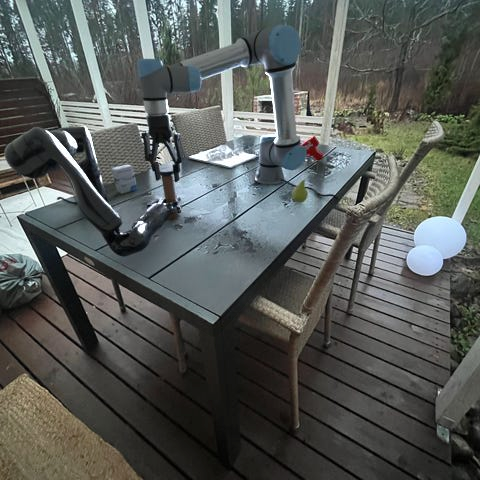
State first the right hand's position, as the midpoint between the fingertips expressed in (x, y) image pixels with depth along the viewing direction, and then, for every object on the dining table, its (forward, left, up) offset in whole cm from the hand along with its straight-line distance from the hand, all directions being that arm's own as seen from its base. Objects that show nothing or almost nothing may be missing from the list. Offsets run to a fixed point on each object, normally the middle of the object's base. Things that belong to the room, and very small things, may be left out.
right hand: (167, 180), depth 103 cm
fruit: (-47, -29, -15) cm, 58 cm away
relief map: (+11, -83, -15) cm, 85 cm away
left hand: (0, -3, -9) cm, 9 cm away
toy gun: (-42, -94, -15) cm, 104 cm away
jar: (0, 0, -15) cm, 15 cm away
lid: (0, 0, +4) cm, 4 cm away
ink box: (+36, -17, -15) cm, 42 cm away
